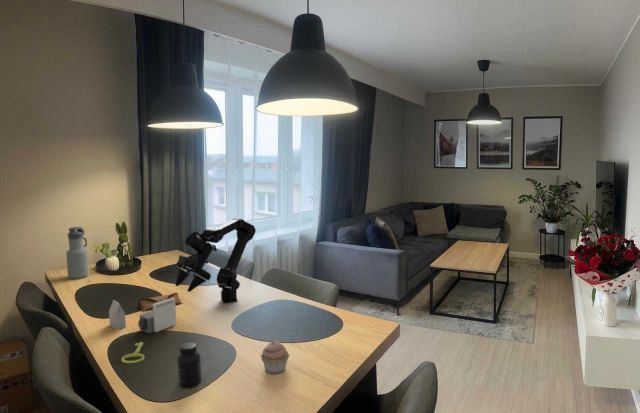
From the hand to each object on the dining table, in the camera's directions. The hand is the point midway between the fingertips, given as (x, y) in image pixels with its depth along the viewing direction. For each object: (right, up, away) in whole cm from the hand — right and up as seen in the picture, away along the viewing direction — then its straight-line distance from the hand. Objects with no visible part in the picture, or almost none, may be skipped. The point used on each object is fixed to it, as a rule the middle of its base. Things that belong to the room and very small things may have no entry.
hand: (182, 288), depth 170 cm
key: (-6, -18, -29) cm, 34 cm away
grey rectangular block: (-8, -14, -7) cm, 18 cm away
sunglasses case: (-15, -12, +17) cm, 26 cm away
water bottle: (-78, -5, +59) cm, 98 cm away
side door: (-4, -14, -8) cm, 17 cm away
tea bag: (-24, -14, -6) cm, 29 cm away
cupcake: (+43, -19, -38) cm, 60 cm away
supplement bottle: (+18, -20, -46) cm, 53 cm away
